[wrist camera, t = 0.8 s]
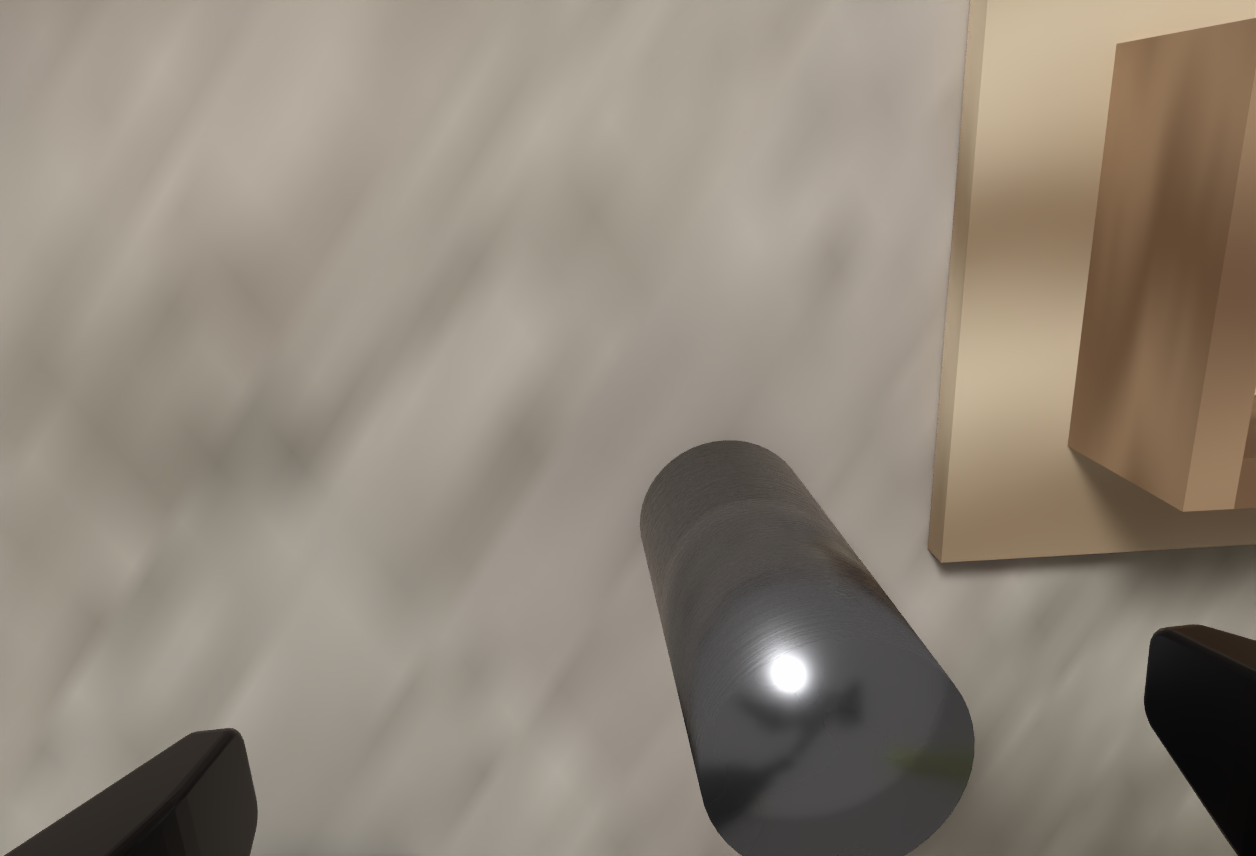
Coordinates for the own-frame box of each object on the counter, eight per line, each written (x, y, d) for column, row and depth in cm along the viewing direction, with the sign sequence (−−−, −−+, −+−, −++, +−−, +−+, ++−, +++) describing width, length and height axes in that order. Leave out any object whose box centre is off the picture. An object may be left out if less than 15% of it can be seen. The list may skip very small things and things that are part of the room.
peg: (804, 592, 22) (962, 868, 14) (641, 602, 22) (699, 889, 14) (810, 436, 21) (987, 631, 13) (638, 444, 21) (699, 648, 12)
